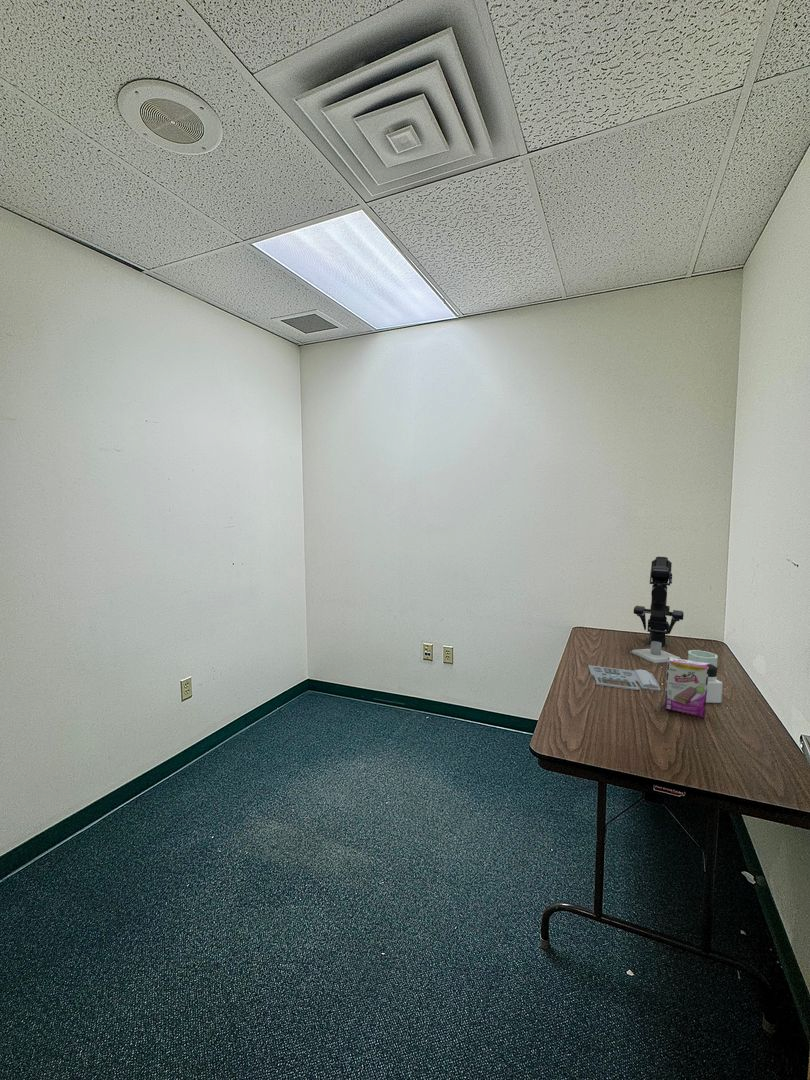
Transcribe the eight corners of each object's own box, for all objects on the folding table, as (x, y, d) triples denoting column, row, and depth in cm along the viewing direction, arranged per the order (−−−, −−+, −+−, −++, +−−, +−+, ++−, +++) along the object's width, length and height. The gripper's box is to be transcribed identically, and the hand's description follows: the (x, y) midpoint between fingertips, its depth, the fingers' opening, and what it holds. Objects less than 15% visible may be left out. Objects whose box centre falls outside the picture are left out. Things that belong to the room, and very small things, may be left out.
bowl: (682, 662, 189) (682, 650, 189) (701, 661, 192) (702, 649, 191) (702, 671, 180) (703, 658, 179) (722, 669, 182) (723, 657, 181)
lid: (632, 651, 201) (632, 638, 200) (656, 650, 204) (657, 637, 203) (654, 661, 188) (654, 647, 188) (680, 660, 191) (681, 646, 190)
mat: (628, 652, 202) (628, 651, 202) (657, 650, 205) (657, 649, 205) (653, 664, 187) (653, 662, 187) (684, 661, 190) (684, 660, 190)
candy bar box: (664, 710, 144) (667, 660, 143) (664, 704, 148) (667, 656, 147) (705, 719, 139) (709, 667, 137) (704, 712, 143) (708, 662, 142)
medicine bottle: (721, 703, 150) (724, 668, 149) (700, 702, 150) (702, 668, 149) (707, 694, 157) (710, 661, 156) (687, 693, 157) (689, 660, 156)
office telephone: (652, 669, 176) (665, 688, 156) (651, 675, 176) (664, 696, 157) (588, 661, 182) (593, 679, 163) (588, 668, 183) (593, 686, 164)
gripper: (633, 597, 192) (631, 632, 193) (684, 602, 182) (681, 640, 183) (635, 593, 201) (634, 626, 203) (684, 598, 191) (682, 633, 193)
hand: (657, 631), depth 195 cm, fingers open, 9 cm apart
